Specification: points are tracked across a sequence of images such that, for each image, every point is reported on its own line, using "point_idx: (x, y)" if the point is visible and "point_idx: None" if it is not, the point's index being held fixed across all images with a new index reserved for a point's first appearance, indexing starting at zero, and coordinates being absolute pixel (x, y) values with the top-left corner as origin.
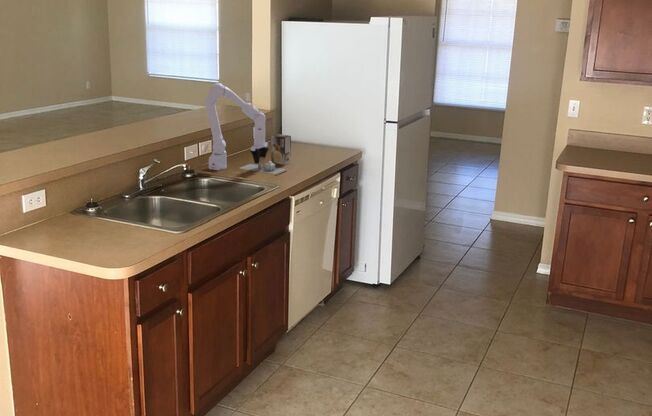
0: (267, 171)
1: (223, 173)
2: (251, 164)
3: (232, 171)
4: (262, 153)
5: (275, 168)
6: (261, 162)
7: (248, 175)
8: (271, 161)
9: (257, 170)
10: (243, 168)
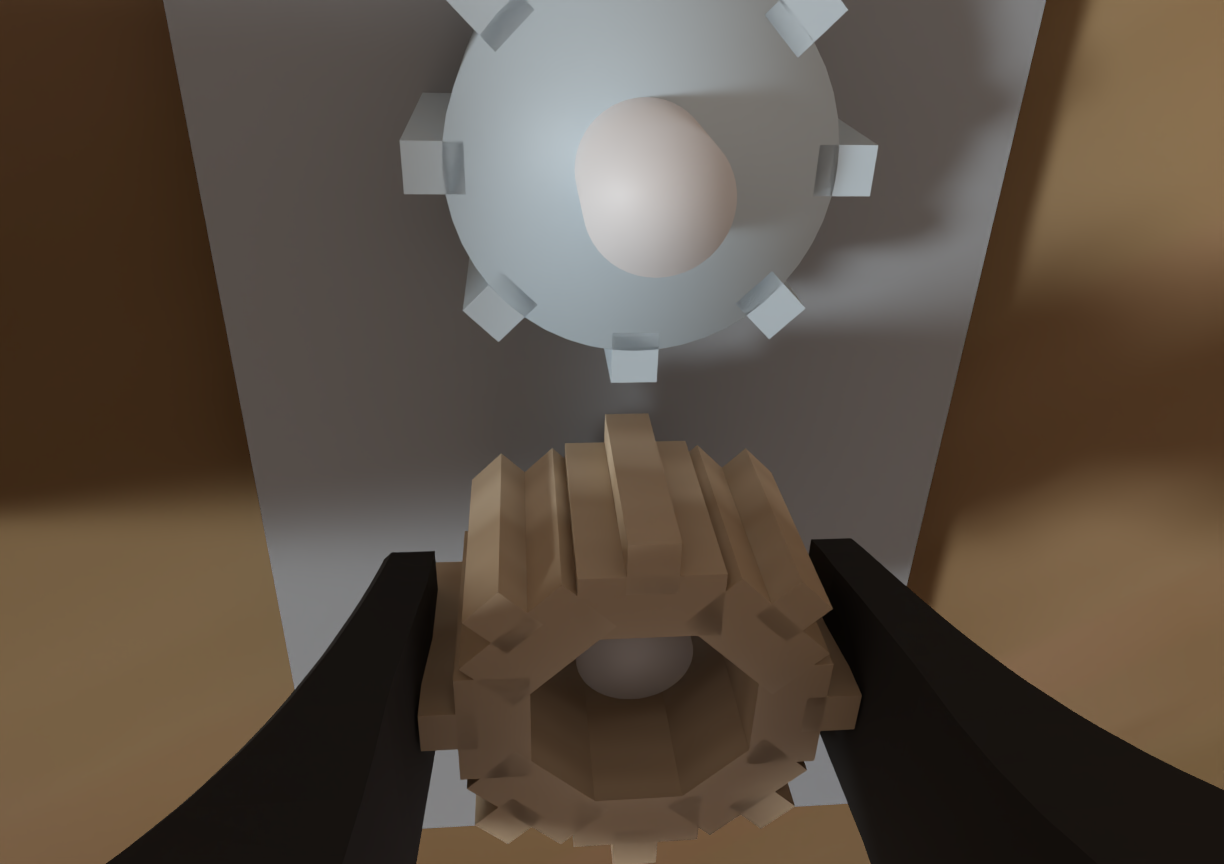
0: (892, 62)
1: None
2: None
3: None
4: (388, 858)
5: (311, 32)
6: (732, 499)
7: (1216, 402)
8: (621, 137)
9: (886, 393)
10: None
